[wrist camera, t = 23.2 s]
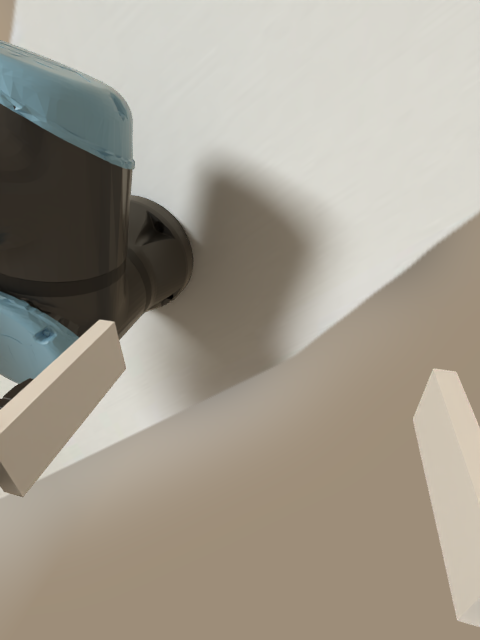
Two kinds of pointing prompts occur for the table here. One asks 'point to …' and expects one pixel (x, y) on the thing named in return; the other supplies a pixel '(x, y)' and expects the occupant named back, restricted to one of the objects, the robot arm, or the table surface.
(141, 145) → the table surface
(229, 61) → the table surface
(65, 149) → the robot arm
